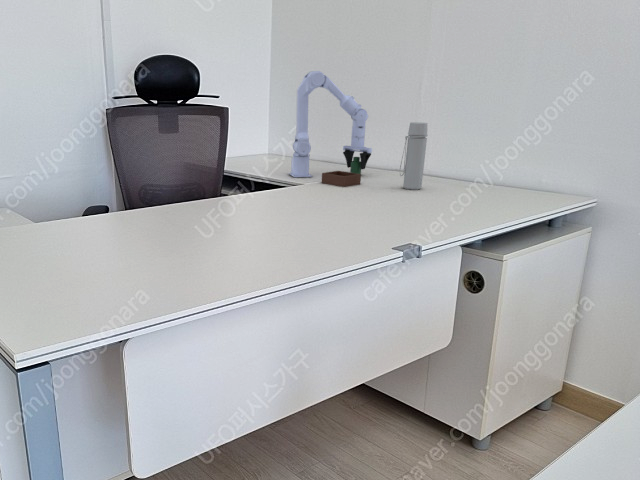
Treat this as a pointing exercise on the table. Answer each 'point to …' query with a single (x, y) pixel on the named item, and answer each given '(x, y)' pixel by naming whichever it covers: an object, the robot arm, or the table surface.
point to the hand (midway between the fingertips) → (356, 168)
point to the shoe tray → (341, 178)
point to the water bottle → (415, 155)
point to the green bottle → (356, 165)
